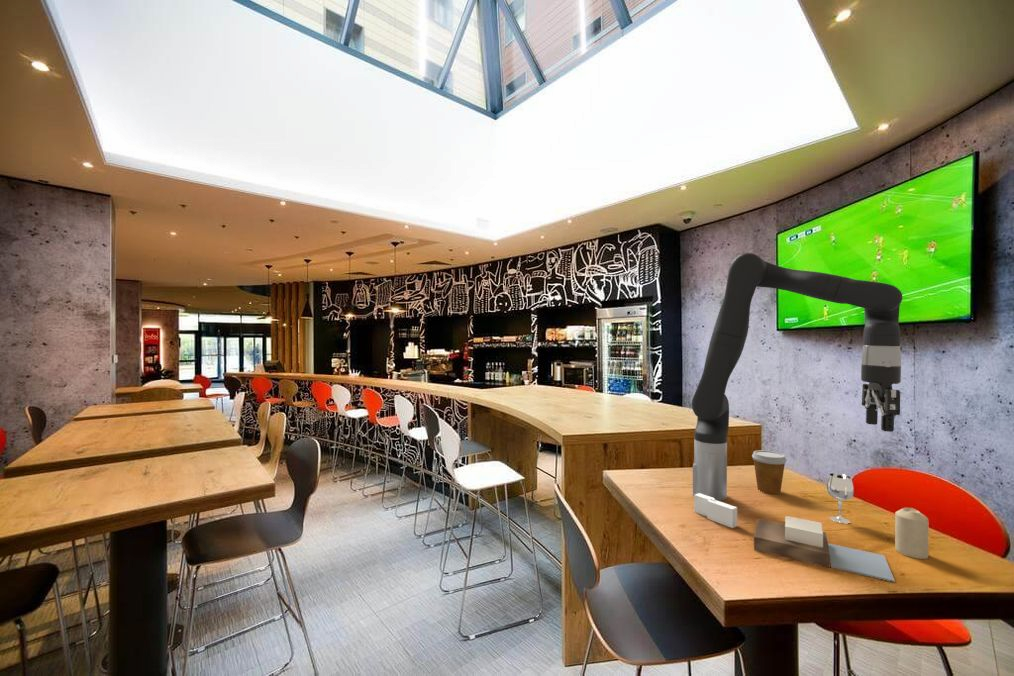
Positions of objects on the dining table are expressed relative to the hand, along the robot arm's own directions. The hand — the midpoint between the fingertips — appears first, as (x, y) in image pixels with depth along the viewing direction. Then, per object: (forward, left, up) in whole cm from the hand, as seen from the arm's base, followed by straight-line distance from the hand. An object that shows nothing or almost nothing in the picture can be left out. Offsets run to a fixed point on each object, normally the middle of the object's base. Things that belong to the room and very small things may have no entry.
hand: (879, 427), depth 107 cm
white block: (-16, -22, -24) cm, 36 cm away
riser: (-19, -22, -27) cm, 39 cm away
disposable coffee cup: (-25, +19, -27) cm, 41 cm away
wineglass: (-8, +4, -27) cm, 28 cm away
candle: (+4, -9, -27) cm, 29 cm away
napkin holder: (-36, -14, -27) cm, 47 cm away
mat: (-6, -21, -27) cm, 35 cm away
